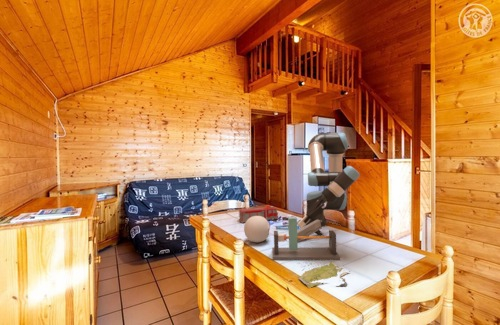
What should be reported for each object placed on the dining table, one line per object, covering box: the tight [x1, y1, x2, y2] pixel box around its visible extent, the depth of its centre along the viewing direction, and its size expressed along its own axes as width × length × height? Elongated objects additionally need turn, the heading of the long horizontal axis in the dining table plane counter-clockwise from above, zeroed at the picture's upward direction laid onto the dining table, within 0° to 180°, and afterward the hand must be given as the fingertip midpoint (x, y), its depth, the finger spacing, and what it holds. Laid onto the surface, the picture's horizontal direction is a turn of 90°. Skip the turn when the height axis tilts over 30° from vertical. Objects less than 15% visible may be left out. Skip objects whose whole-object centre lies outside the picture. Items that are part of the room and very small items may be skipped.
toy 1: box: [238, 205, 279, 223], centre depth 189 cm, size 10×30×10 cm, turn 105°
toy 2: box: [243, 216, 271, 243], centre depth 143 cm, size 15×15×15 cm
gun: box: [297, 219, 325, 243], centre depth 146 cm, size 2×25×10 cm, turn 121°
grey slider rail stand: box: [271, 229, 341, 261], centre depth 122 cm, size 32×12×12 cm, turn 85°
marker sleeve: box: [287, 216, 299, 250], centre depth 123 cm, size 4×3×16 cm
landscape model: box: [298, 261, 351, 289], centre depth 99 cm, size 24×15×2 cm, turn 123°
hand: (299, 226), depth 122 cm, fingers closed
